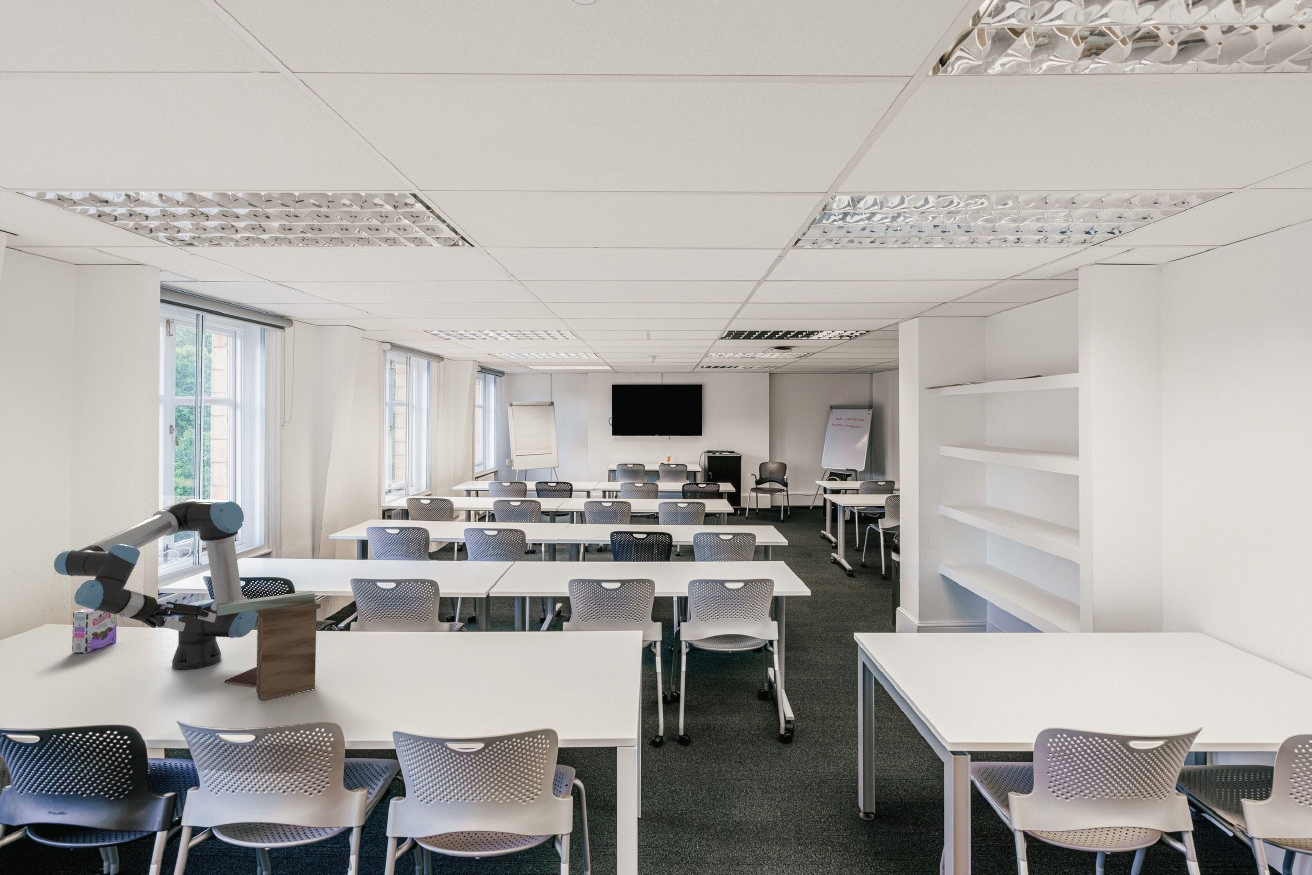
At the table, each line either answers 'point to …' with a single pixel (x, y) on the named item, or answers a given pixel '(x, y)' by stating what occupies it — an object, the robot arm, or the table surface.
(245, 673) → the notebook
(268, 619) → the stand
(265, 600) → the slat
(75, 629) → the candy box
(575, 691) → the table surface
